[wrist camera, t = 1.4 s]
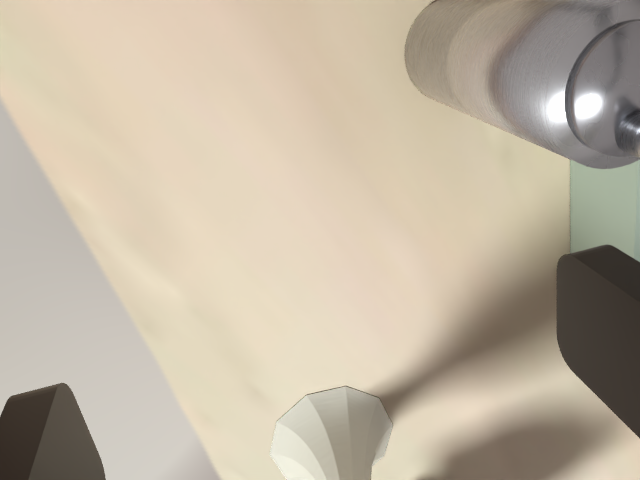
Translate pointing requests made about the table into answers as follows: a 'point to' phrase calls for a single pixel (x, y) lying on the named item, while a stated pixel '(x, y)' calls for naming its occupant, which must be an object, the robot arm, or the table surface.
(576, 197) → the green and yellow block
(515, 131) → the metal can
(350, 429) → the vase
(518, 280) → the table surface
